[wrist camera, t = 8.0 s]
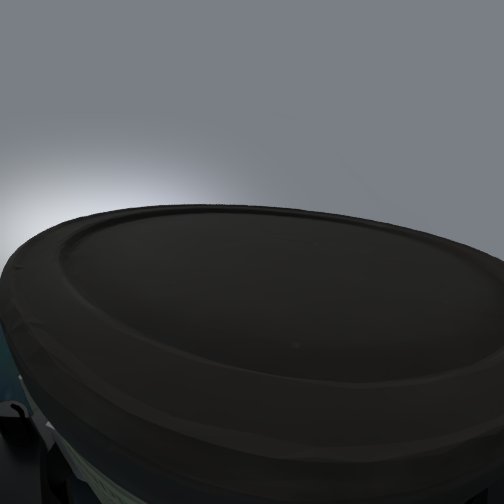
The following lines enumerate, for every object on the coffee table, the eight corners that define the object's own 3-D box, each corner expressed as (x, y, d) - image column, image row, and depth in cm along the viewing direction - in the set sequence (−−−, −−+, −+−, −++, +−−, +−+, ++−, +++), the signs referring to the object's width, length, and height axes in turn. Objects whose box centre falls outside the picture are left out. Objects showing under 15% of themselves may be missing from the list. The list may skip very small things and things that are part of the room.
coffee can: (336, 453, 14) (407, 220, 11) (366, 593, 4) (639, 336, 1) (166, 443, 14) (146, 196, 11) (125, 587, 4) (-133, 298, 1)
